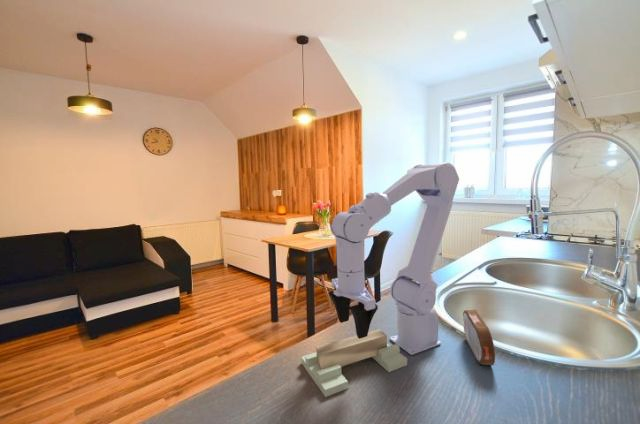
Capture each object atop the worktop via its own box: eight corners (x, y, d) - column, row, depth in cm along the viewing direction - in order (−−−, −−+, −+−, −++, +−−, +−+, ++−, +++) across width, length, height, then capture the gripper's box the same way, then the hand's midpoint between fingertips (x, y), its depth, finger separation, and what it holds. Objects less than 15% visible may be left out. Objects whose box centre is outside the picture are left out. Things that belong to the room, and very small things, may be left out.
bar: (316, 364, 65) (316, 346, 65) (379, 345, 71) (379, 329, 71) (322, 372, 62) (321, 354, 62) (387, 351, 68) (386, 335, 68)
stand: (374, 339, 77) (374, 327, 76) (407, 365, 66) (407, 352, 66) (301, 363, 68) (300, 350, 68) (325, 397, 57) (324, 382, 57)
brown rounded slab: (496, 374, 62) (497, 335, 61) (479, 372, 63) (480, 334, 62) (474, 335, 77) (474, 303, 75) (460, 334, 77) (461, 303, 76)
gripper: (319, 263, 69) (321, 319, 71) (352, 282, 56) (354, 350, 58) (345, 258, 72) (347, 312, 74) (383, 275, 59) (384, 340, 61)
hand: (352, 328), depth 66 cm, fingers open, 7 cm apart
